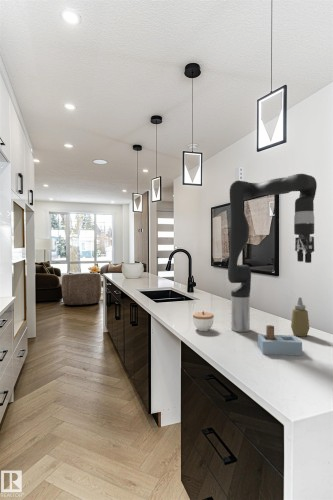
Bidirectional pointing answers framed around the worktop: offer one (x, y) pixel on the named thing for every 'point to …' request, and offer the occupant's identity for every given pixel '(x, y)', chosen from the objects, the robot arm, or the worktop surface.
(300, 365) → the worktop surface
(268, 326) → the dowel
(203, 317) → the lidded jar
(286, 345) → the socket block
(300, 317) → the squeeze bottle
